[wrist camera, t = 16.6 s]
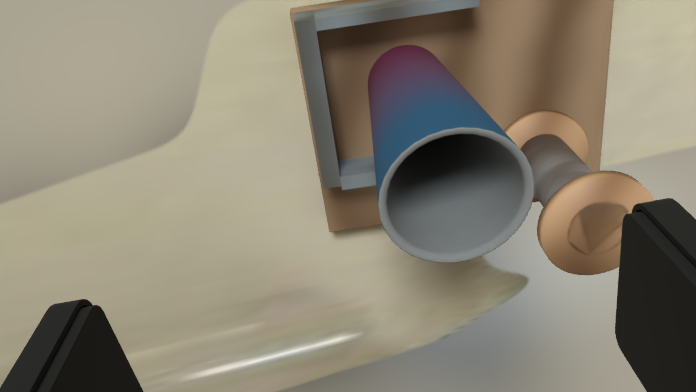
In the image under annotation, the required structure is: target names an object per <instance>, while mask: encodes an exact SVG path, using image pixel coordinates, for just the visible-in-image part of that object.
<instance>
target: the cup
mask: <svg viewBox="0 0 696 392" xmlns="http://www.w3.org/2000/svg"><path fill="white" fill-rule="evenodd" d="M368 95H369V107H370V118H371V130H372V141H373V153H374V164H375V176H376V187H377V199H378V208H379V216H380V220H381V222H382V225H383V227H384V230H385V231H386V233H387V234H388V235H389V237H390V238H391V240H392V241H393V242H394V243H395V244H396V245H398V246H399V247H400V248H401V249H402V250H404V251H406V252H407V253H409V254H411V255H412V256H415V257H418V258H420V259H423V260H427V261H433V262H438V263H454V262H460V261H467V260H470V259H473V258H477V257H480V256H482V255H484V254H486V253H488V252H490V251H492V250H494V249H496V248H497V247H498V246H500V245H502V244H503V243H504V242H506V241H507V240H508V239H509V238H510V237H511V236H512V235H513V234H514V233H515V232H516V231H517V230H518V228H519V227H520V226H521V224H522V223H523V221H524V220H525V218H526V216H527V214H528V212H529V210H530V207H531V204H532V200H533V196H534V177H533V173H532V168H531V166H530V164H529V162H528V160H527V158H526V156H525V154H524V153H523V152H522V151H521V150H520V148H519V147H518V146H517V145H516V144H515V143H514V142H513V141H512V139H511V138H510V137H509V136H508V135H507V134H506V133H505V132H504V131H503V130H502V129H501V127H500V126H499V125H498V124H497V123H496V122H495V121H494V120H493V119H492V118H491V117H490V115H489V114H488V113H487V112H486V111H485V110H484V109H483V108H482V107H481V106H480V104H479V103H478V102H477V101H476V100H475V99H474V98H473V97H472V96H471V95H470V94H469V92H468V91H467V90H466V89H465V88H464V87H463V86H462V85H461V84H460V83H459V82H458V80H457V79H456V78H455V77H454V76H453V75H452V74H451V73H450V72H449V71H448V70H447V68H446V67H445V66H444V65H443V64H442V63H441V62H440V61H439V60H438V59H437V57H436V56H435V55H434V54H432V53H431V52H430V51H429V50H427V49H425V48H423V47H420V46H415V45H402V46H397V47H395V48H392V49H390V50H388V51H387V52H385V53H384V54H382V55H381V56H380V57H379V58H378V59H377V60H376V62H375V63H374V64H373V66H372V68H371V70H370V73H369V77H368Z"/></svg>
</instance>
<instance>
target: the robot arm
mask: <svg viewBox="0 0 696 392" xmlns="http://www.w3.org/2000/svg"><path fill="white" fill-rule="evenodd" d="M615 334H616V339H617V342H618V345H619V347H620V349H621V351H622V353H623V354H624V356H625V357H626V359H627V361H628V362H629V364H630V365H631V367H632V369H633V370H634V372H635V373H636V375H637V377H638V378H639V380H640V381H641V383H642V384H643V386H644V388H645V389H646V391H647V392H696V219H694V217H693V216H692V215H691V214H689V213H688V212H687V211H686V210H685V209H684V208H683V207H682V206H681V205H680V204H679V203H678V202H676V201H675V200H673V199H670V198H667V199H662V200H655V201H650V202H644V203H638V204H636V205H634V207H633V209H632V213H629V214H626V215H624V217H623V222H622V236H621V250H620V265H619V280H618V296H617V309H616V324H615ZM0 392H143V390H142V388H141V386H140V384H139V382H138V380H137V378H136V376H135V374H134V372H133V370H132V368H131V366H130V364H129V362H128V360H127V358H126V356H125V354H124V352H123V350H122V348H121V346H120V344H119V342H118V340H117V338H116V336H115V334H114V332H113V330H112V328H111V326H110V324H109V322H108V320H107V318H106V316H105V313H104V311H103V310H102V308H101V307H100V306H98V305H94V306H93V305H92V304H91V302H89V301H88V300H86V299H81V300H76V301H70V302H64V303H58V304H54V305H52V306H50V307H49V309H48V310H47V311H46V313H45V315H44V316H43V318H42V320H41V321H40V323H39V325H38V326H37V328H36V330H35V331H34V333H33V335H32V336H31V338H30V340H29V341H28V343H27V345H26V346H25V348H24V349H23V351H22V353H21V354H20V356H19V358H18V359H17V361H16V363H15V364H14V366H13V368H12V369H11V371H10V373H9V374H8V376H7V378H6V379H5V381H4V383H3V384H2V386H1V388H0Z"/></svg>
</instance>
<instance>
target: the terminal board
mask: <svg viewBox="0 0 696 392" xmlns="http://www.w3.org/2000/svg"><path fill="white" fill-rule="evenodd" d="M613 3H614V0H343V1H337V2H330V3H324V4H317V5H310V6H304V7H297V8H291V10H290V17H291V22H292V28H293V33H294V39H295V44H296V50H297V55H298V61H299V66H300V72H301V77H302V83H303V88H304V94H305V99H306V105H307V111H308V116H309V122H310V127H311V133H312V138H313V144H314V149H315V155H316V160H317V166H318V171H319V177H320V182H321V188H322V193H323V199H324V205H325V210H326V216H327V221H328V227H329V232H333V231H340V230H347V229H353V228H360V227H367V226H374V225H381V224H382V222H381V220H380V216H379V208H378V199H377V187H376V176H375V164H374V153H373V141H372V130H371V118H370V107H369V95H368V77H369V73H370V70H371V68H372V66H373V64H374V63H375V62H376V60H377V59H378V58H379V57H380V56H381V55H382V54H384V53H385V52H387V51H388V50H390V49H392V48H395V47H397V46H402V45H415V46H420V47H423V48H425V49H427V50H429V51H430V52H431V53H432V54H434V55H435V56H436V57H437V59H438V60H439V61H440V62H441V63H442V64H443V65H444V66H445V67H446V68H447V70H448V71H449V72H450V73H451V74H452V75H453V76H454V77H455V78H456V79H457V80H458V82H459V83H460V84H461V85H462V86H463V87H464V88H465V89H466V90H467V91H468V92H469V94H470V95H471V96H472V97H473V98H474V99H475V100H476V101H477V102H478V103H479V104H480V106H481V107H482V108H483V109H484V110H485V111H486V112H487V113H488V114H489V115H490V117H491V118H492V119H493V120H494V121H495V122H496V123H497V124H498V125H499V126H500V127H501V129H502V130H503V131H504V132H505V133H506V134H507V135H508V136H509V137H510V138H511V139H512V141H513V142H514V143H515V144H516V145H517V146H518V147H519V148H520V150H521V151H522V152H523V153H524V154H525V156H526V158H527V160H528V162H529V164H530V166H531V168H532V173H533V177H534V196H533V200H532V202H537V201H540V202H541V204H542V205H543V207H544V208H543V210H542V212H541V214H540V216H539V220H538V226H537V235H538V240H539V243H540V245H541V247H542V249H543V250H544V252H545V254H546V255H547V257H548V259H549V260H550V261H551V262H552V263H553V264H554V265H555V266H557V267H558V268H560V269H561V270H563V271H566V272H568V273H572V274H578V275H593V274H600V273H604V272H607V271H610V270H613V269H615V268H618V267H619V265H620V250H621V236H622V222H623V217H624V215H626V214H629V213H632V209H633V207H634V205H636V204H638V203H644V202H650V201H654V199H653V197H652V195H651V194H650V193H649V192H648V190H647V189H646V188H644V187H643V186H642V185H641V184H640V183H639V182H638V181H637V180H636V179H634V178H633V177H631V176H629V175H627V174H624V173H621V172H616V171H600V159H601V147H602V135H603V123H604V111H605V99H606V87H607V75H608V63H609V51H610V39H611V27H612V15H613Z"/></svg>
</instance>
